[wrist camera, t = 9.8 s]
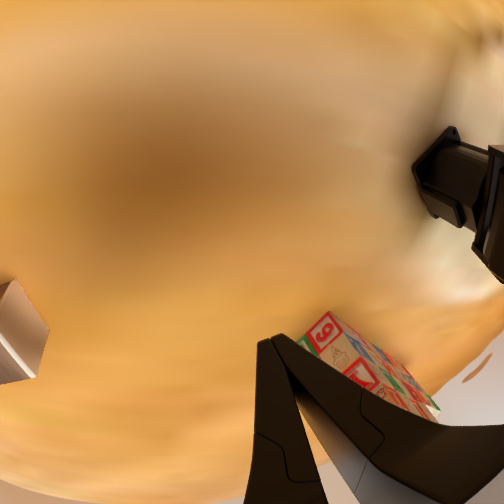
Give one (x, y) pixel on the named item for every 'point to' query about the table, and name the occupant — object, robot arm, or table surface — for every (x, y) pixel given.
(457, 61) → the table surface
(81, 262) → the table surface
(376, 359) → the stack of blocks
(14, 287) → the walnut block
